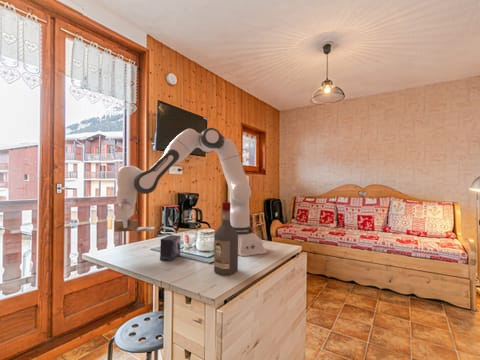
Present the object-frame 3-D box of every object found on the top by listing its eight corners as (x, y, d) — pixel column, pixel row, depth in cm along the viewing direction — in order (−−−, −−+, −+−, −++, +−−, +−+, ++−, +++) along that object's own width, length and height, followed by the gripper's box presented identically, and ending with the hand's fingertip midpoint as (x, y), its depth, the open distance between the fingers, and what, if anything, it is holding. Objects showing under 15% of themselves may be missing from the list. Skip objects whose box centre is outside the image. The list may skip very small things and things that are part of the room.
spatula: (113, 232, 116) (113, 221, 116) (116, 229, 122) (116, 219, 122) (153, 230, 121) (153, 220, 121) (154, 228, 126) (154, 218, 127)
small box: (171, 261, 120) (171, 240, 120) (159, 260, 121) (159, 239, 121) (181, 255, 130) (181, 235, 130) (169, 254, 131) (169, 234, 131)
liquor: (225, 266, 113) (225, 201, 114) (240, 270, 108) (241, 202, 108) (210, 271, 106) (211, 202, 106) (226, 277, 101) (227, 204, 101)
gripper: (129, 200, 111) (129, 230, 111) (137, 197, 131) (136, 223, 131) (114, 200, 110) (113, 231, 110) (124, 197, 130) (124, 223, 130)
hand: (126, 226), depth 121 cm, fingers closed on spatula, 3 cm apart
